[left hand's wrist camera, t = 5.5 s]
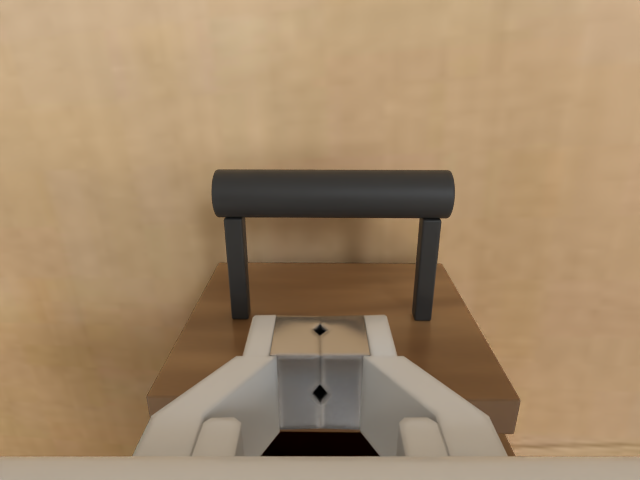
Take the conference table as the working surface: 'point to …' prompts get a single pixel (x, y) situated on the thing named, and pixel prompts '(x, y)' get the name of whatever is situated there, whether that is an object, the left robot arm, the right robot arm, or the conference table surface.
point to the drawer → (339, 292)
